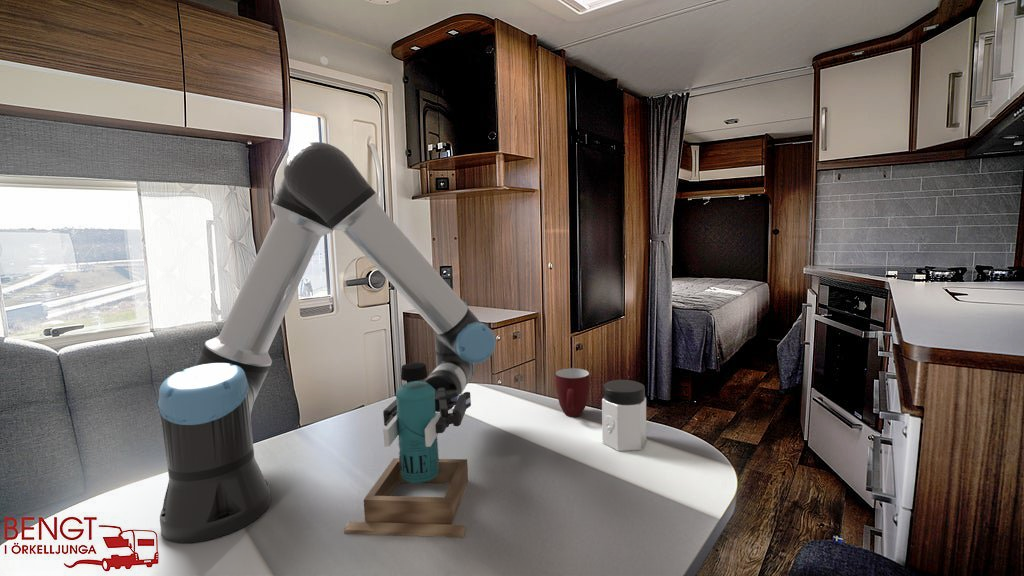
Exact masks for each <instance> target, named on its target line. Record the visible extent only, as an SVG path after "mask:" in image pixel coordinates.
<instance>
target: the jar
mask: <svg viewBox="0 0 1024 576" xmlns="http://www.w3.org/2000/svg"><path fill="white" fill-rule="evenodd" d="M602 390H603V391H602V392H603V393H602V394H603V397H602V399H601V422H602V423H601V426H602V427H601V429H602V434H601V435H602V436H601V437H602V439H601V440H602V444H604V445H606V446H607V447H610V448H611V449H613V450H615V451H617V452H625V451H630V452H631V450H632V451H641V450H642V449H643V446H644V445H645V443H646V442H647V396H646V392H645V391H646V388H645V385H644V384H643V383H641V382H640V381H639V382H638V381H636V380H630V379H614V380H610V381H606V382H605V383H604V384H603V389H602Z"/></svg>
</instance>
